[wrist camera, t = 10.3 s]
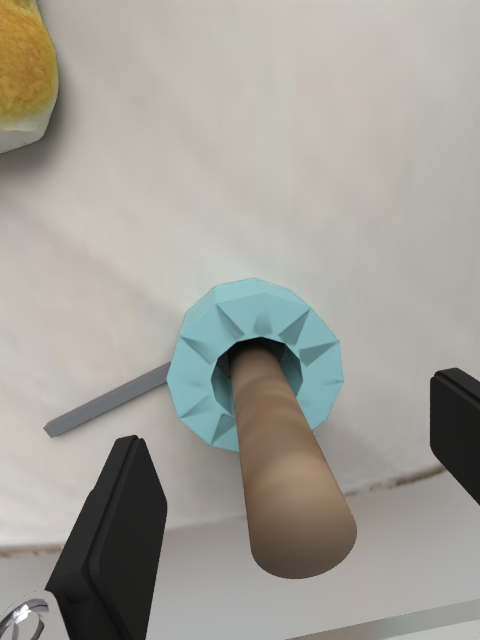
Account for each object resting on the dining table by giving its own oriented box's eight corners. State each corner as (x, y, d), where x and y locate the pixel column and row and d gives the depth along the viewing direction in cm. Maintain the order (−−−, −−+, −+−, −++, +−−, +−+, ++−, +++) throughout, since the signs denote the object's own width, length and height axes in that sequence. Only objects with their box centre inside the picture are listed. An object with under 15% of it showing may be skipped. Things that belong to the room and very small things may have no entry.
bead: (306, 266, 18) (332, 277, 14) (323, 393, 20) (349, 432, 16) (161, 297, 18) (147, 317, 14) (197, 421, 20) (193, 467, 16)
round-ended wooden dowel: (265, 325, 19) (352, 486, 7) (273, 363, 19) (360, 564, 8) (223, 334, 18) (240, 512, 7) (232, 372, 19) (261, 588, 8)
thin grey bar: (170, 361, 19) (169, 365, 18) (177, 372, 19) (176, 376, 18) (48, 422, 19) (43, 428, 19) (56, 431, 19) (51, 438, 19)
